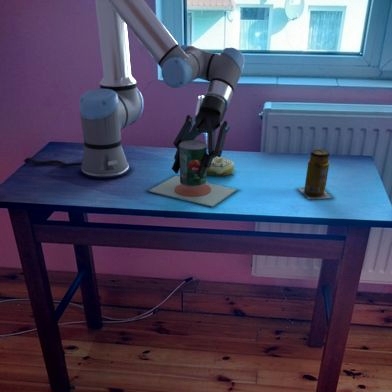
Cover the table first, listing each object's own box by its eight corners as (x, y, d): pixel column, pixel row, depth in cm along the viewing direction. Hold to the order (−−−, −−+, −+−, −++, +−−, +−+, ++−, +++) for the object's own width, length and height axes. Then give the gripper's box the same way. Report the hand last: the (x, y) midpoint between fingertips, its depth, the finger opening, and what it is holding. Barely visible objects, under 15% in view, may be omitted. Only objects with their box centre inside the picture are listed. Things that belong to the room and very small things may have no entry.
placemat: (148, 191, 159) (148, 189, 159) (175, 176, 169) (175, 174, 169) (212, 207, 150) (212, 205, 150) (236, 190, 161) (236, 188, 160)
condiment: (321, 188, 163) (327, 147, 155) (331, 198, 156) (338, 157, 149) (298, 189, 162) (303, 149, 154) (308, 200, 155) (313, 158, 148)
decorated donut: (222, 180, 168) (222, 168, 165) (194, 173, 172) (194, 161, 170) (239, 170, 174) (240, 159, 172) (212, 164, 179) (212, 152, 177)
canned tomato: (199, 188, 154) (199, 150, 147) (175, 184, 157) (174, 146, 150) (210, 180, 160) (211, 142, 153) (187, 176, 162) (187, 138, 156)
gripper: (251, 114, 154) (222, 186, 153) (190, 105, 163) (162, 173, 161) (243, 98, 147) (213, 173, 146) (180, 90, 156) (151, 160, 155)
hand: (187, 173), depth 154 cm, fingers closed on canned tomato, 8 cm apart
